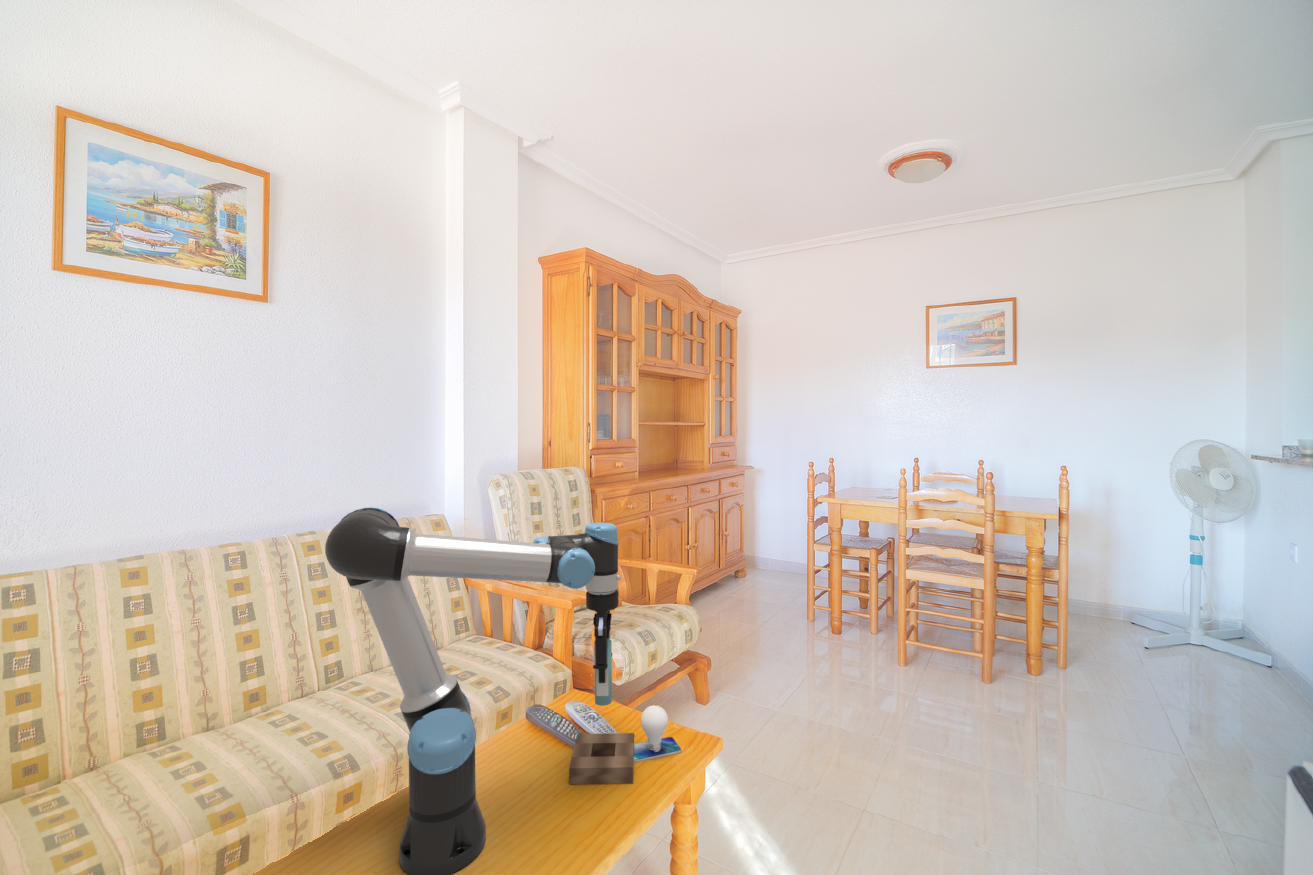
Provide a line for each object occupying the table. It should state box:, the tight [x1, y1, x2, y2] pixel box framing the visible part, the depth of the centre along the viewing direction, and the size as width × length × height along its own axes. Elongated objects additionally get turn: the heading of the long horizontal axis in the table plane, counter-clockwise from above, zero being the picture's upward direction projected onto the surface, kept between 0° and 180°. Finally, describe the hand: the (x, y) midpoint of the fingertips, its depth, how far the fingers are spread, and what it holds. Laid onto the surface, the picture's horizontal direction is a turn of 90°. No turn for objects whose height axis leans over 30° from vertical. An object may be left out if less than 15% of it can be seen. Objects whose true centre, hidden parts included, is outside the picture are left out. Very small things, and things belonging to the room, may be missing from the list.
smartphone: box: [634, 736, 683, 764], centre depth 136 cm, size 7×1×15 cm
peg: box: [593, 639, 613, 707], centre depth 130 cm, size 4×4×14 cm
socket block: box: [568, 732, 635, 785], centre depth 130 cm, size 14×14×4 cm
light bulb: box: [640, 704, 669, 753], centre depth 135 cm, size 7×7×11 cm
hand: (603, 690), depth 130 cm, fingers closed on peg, 4 cm apart
